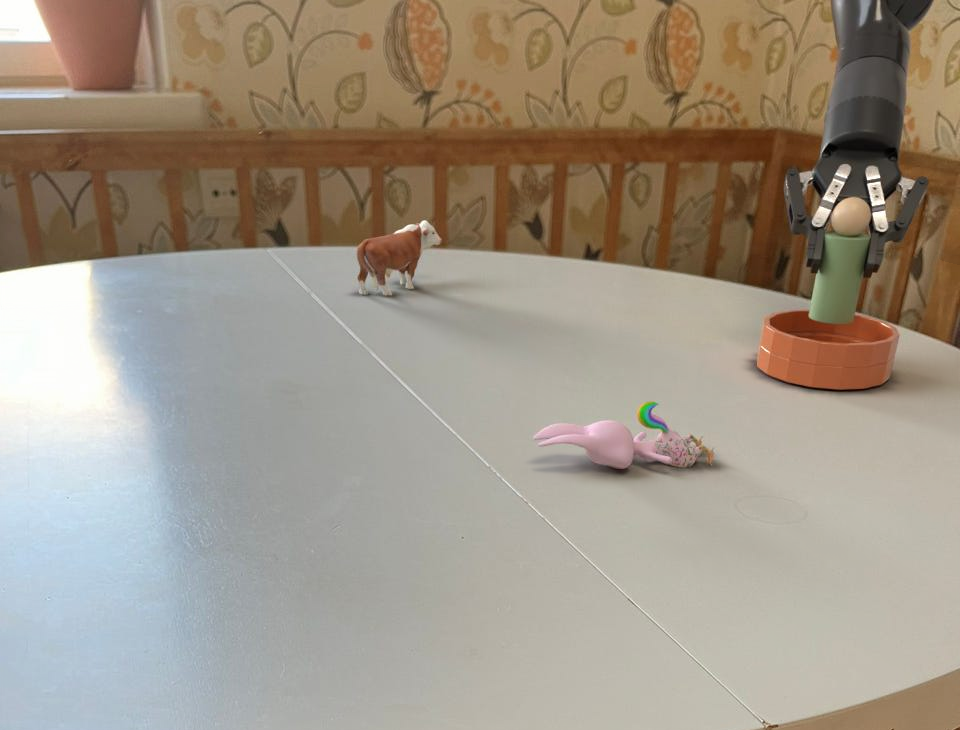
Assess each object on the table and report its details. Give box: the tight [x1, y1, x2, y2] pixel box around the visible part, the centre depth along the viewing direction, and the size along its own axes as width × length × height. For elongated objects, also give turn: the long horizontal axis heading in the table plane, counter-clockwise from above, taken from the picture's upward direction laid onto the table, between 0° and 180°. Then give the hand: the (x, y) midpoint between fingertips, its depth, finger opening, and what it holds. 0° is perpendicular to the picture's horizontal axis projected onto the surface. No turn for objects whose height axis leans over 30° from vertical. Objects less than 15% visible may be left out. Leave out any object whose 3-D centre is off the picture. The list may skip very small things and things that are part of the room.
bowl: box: [756, 308, 901, 391], centre depth 107 cm, size 13×13×5 cm
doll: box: [809, 197, 871, 324], centre depth 103 cm, size 4×4×11 cm
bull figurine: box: [356, 219, 443, 297], centre depth 133 cm, size 4×13×8 cm, turn 137°
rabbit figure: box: [532, 400, 716, 470], centre depth 84 cm, size 6×6×15 cm
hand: (842, 270), depth 101 cm, fingers closed on doll, 4 cm apart
